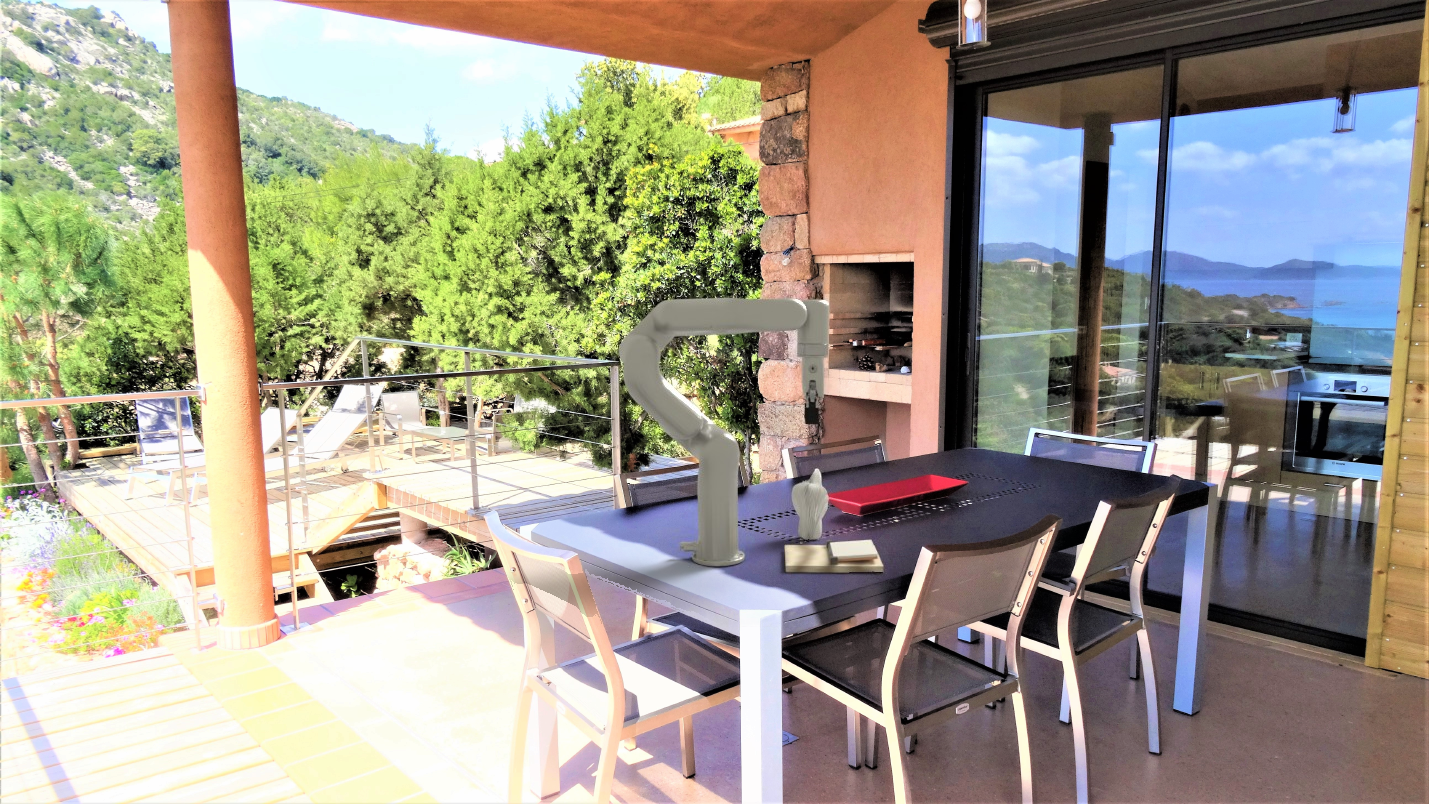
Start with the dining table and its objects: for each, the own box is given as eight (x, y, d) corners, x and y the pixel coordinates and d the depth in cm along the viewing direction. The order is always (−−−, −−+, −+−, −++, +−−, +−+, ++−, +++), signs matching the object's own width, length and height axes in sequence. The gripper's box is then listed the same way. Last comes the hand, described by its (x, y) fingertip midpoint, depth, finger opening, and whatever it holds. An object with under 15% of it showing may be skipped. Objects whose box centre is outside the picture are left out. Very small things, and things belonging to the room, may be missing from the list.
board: (785, 571, 197) (785, 558, 196) (784, 550, 214) (784, 538, 213) (883, 572, 195) (883, 559, 195) (874, 551, 212) (874, 539, 212)
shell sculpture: (801, 544, 219) (801, 474, 217) (790, 535, 227) (790, 468, 225) (832, 541, 222) (832, 472, 220) (819, 533, 230) (819, 466, 228)
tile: (877, 553, 197) (877, 558, 198) (871, 539, 209) (871, 544, 209) (831, 556, 198) (831, 561, 198) (827, 542, 210) (828, 547, 210)
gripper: (829, 353, 199) (828, 426, 200) (826, 349, 216) (825, 417, 218) (797, 352, 199) (795, 426, 201) (796, 349, 216) (795, 417, 218)
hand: (811, 421), depth 209 cm, fingers open, 9 cm apart
